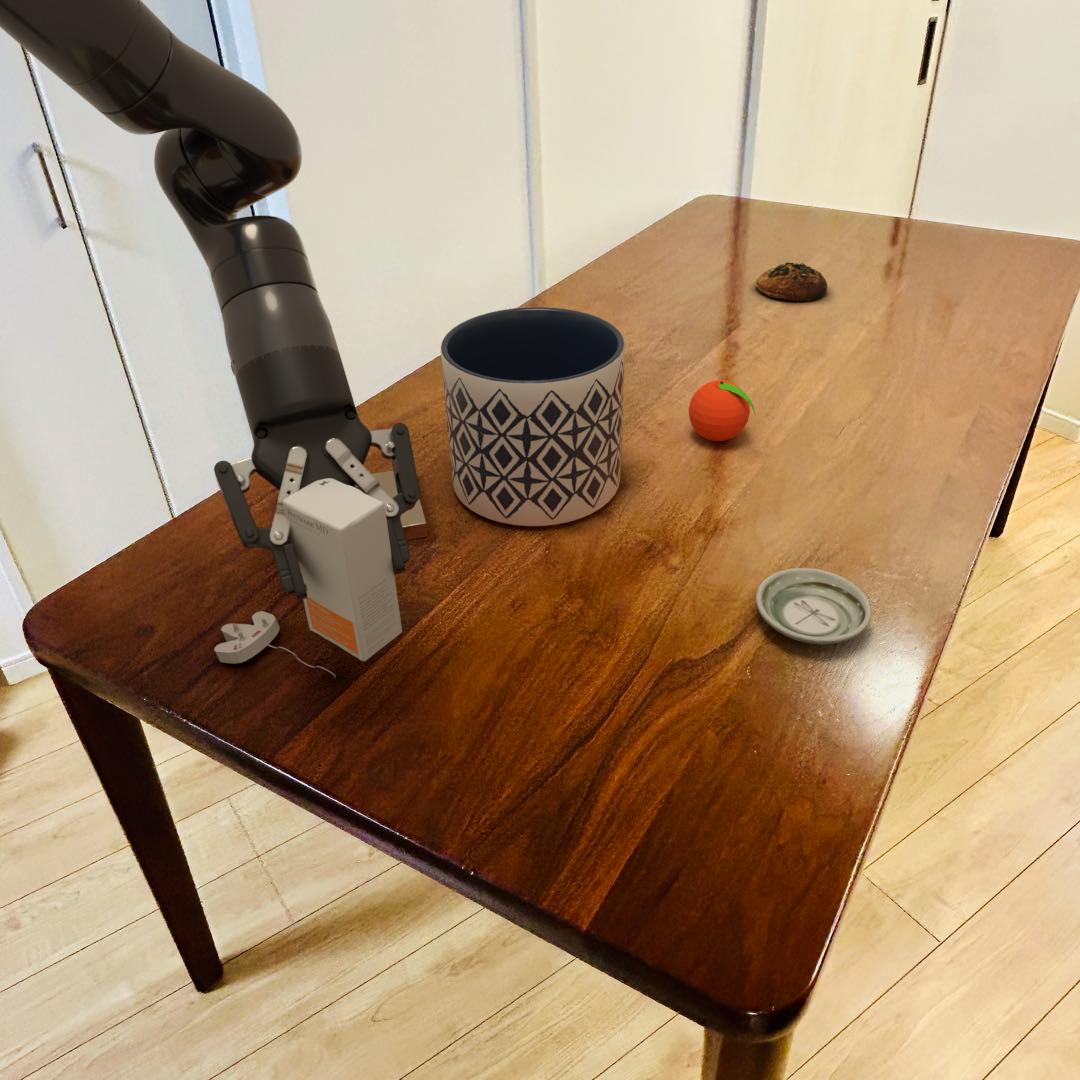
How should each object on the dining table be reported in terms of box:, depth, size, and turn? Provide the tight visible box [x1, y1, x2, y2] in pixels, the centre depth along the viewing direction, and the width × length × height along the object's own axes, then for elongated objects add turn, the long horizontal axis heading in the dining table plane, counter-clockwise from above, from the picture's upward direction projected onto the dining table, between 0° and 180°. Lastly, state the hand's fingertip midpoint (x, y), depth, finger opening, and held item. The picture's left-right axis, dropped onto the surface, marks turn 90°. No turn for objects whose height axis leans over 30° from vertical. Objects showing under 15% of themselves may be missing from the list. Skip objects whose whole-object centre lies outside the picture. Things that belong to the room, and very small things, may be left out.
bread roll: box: [754, 262, 828, 303], centre depth 141 cm, size 11×11×5 cm
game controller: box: [214, 610, 337, 679], centre depth 77 cm, size 6×12×3 cm, turn 80°
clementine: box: [688, 379, 756, 442], centre depth 103 cm, size 8×7×7 cm
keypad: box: [278, 470, 429, 544], centre depth 93 cm, size 14×11×4 cm
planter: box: [440, 306, 626, 527], centre depth 93 cm, size 18×18×16 cm
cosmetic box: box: [282, 478, 403, 662], centre depth 64 cm, size 6×4×12 cm
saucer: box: [755, 567, 873, 645], centre depth 78 cm, size 10×10×2 cm
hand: (351, 584), depth 63 cm, fingers closed on cosmetic box, 6 cm apart
